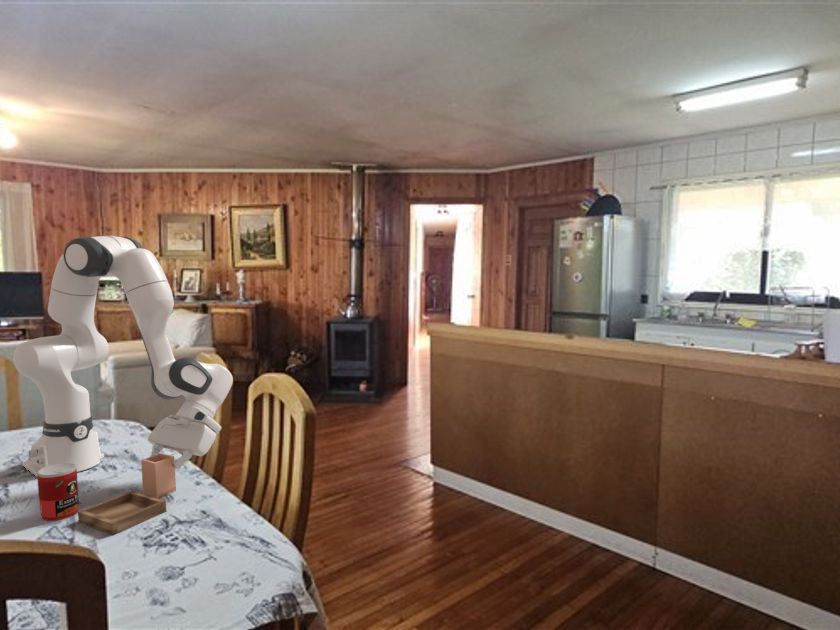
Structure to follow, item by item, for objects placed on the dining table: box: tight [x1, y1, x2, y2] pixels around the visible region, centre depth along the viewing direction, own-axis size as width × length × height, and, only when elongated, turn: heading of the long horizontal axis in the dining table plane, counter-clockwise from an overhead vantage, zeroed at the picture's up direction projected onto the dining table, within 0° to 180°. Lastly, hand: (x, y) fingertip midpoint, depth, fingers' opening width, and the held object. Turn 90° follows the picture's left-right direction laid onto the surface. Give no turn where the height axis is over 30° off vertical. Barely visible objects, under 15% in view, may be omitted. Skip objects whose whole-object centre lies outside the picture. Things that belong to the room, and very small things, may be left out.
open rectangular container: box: [140, 452, 177, 499], centre depth 139 cm, size 6×6×9 cm
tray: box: [77, 490, 167, 536], centre depth 125 cm, size 13×13×2 cm
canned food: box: [36, 463, 80, 522], centre depth 127 cm, size 8×8×11 cm
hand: (163, 464), depth 140 cm, fingers open, 8 cm apart
